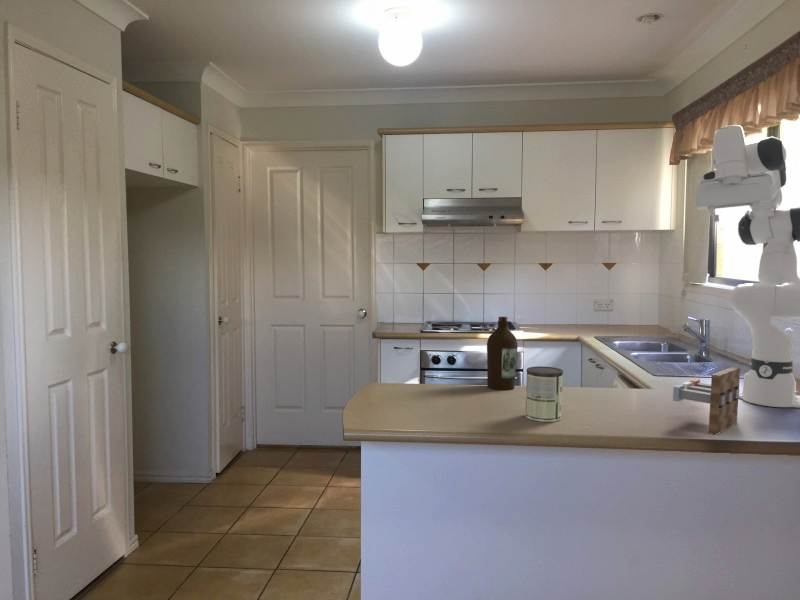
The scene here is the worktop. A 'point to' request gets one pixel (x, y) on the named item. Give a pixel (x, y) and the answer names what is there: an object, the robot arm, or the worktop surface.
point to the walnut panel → (728, 412)
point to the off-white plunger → (704, 390)
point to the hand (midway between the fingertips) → (734, 220)
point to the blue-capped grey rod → (693, 395)
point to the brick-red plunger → (697, 383)
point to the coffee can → (544, 394)
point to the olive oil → (501, 357)
